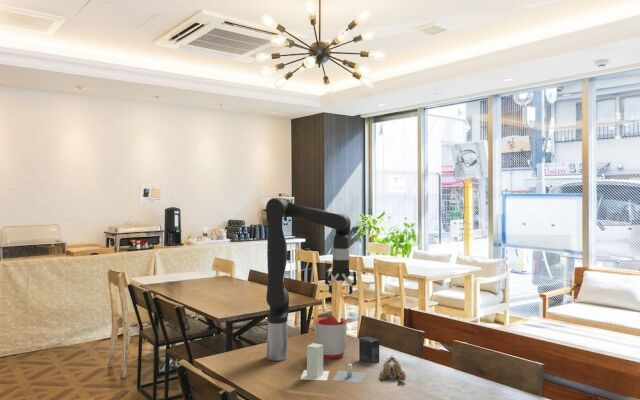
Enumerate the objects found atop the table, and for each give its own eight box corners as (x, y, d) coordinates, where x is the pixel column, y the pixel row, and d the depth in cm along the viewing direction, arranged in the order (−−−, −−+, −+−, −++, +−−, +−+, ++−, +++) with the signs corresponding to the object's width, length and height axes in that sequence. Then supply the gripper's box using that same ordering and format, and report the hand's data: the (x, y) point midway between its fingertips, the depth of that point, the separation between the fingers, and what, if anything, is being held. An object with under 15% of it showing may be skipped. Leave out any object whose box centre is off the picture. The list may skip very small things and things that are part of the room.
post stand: (332, 382, 200) (332, 367, 200) (339, 372, 211) (339, 358, 211) (360, 385, 197) (361, 370, 197) (366, 375, 208) (366, 361, 208)
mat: (300, 381, 201) (300, 379, 201) (303, 372, 212) (303, 369, 212) (326, 382, 199) (326, 380, 199) (329, 373, 210) (329, 371, 210)
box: (379, 362, 225) (379, 339, 225) (370, 365, 221) (371, 341, 221) (367, 358, 231) (367, 335, 231) (358, 360, 227) (358, 338, 227)
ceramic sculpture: (404, 352, 212) (406, 365, 197) (404, 371, 213) (406, 386, 198) (379, 351, 213) (379, 364, 199) (379, 370, 214) (379, 385, 199)
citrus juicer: (354, 353, 238) (354, 312, 238) (336, 363, 223) (336, 319, 223) (327, 348, 246) (327, 308, 246) (307, 357, 232) (308, 315, 232)
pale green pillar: (306, 375, 205) (307, 346, 205) (313, 372, 209) (313, 343, 209) (317, 377, 202) (317, 347, 202) (323, 374, 206) (323, 344, 206)
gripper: (324, 258, 218) (324, 295, 218) (356, 259, 217) (356, 296, 217) (326, 257, 226) (325, 292, 226) (356, 257, 224) (356, 293, 224)
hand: (340, 294), depth 221 cm, fingers open, 8 cm apart
